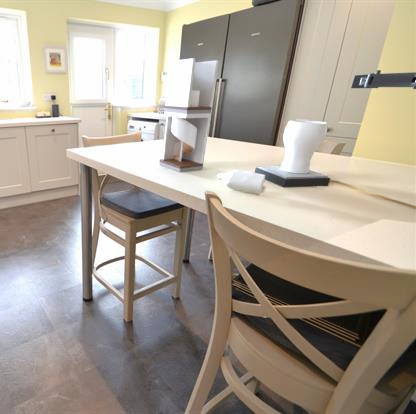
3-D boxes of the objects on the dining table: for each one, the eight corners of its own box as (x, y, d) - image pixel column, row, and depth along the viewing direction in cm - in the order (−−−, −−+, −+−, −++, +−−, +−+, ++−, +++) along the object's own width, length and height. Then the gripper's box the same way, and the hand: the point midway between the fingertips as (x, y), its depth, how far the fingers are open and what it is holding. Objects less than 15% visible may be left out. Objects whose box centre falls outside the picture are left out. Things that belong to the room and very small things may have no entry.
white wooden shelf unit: (159, 164, 107) (168, 61, 94) (181, 162, 111) (193, 63, 98) (179, 172, 98) (193, 58, 84) (202, 169, 102) (218, 60, 89)
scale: (295, 173, 99) (298, 165, 97) (330, 185, 86) (334, 176, 85) (253, 174, 96) (255, 165, 95) (283, 187, 84) (286, 177, 82)
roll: (218, 183, 86) (221, 165, 84) (261, 191, 80) (266, 172, 78) (212, 188, 81) (215, 169, 79) (258, 197, 75) (263, 176, 73)
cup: (278, 172, 87) (291, 122, 81) (272, 165, 96) (283, 119, 91) (319, 176, 84) (335, 124, 78) (308, 168, 93) (323, 121, 87)
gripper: (409, 102, 47) (323, 99, 66) (572, 104, 45) (436, 100, 65) (429, 50, 44) (334, 63, 63) (604, 51, 43) (451, 64, 62)
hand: (385, 82), depth 64 cm, fingers open, 13 cm apart
